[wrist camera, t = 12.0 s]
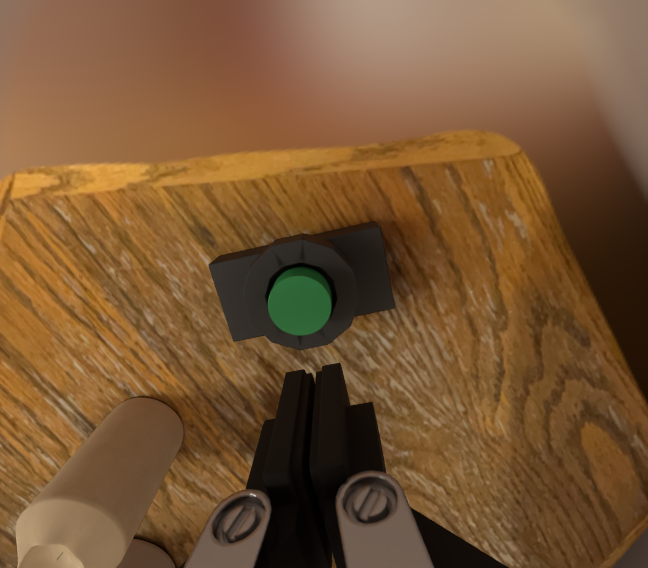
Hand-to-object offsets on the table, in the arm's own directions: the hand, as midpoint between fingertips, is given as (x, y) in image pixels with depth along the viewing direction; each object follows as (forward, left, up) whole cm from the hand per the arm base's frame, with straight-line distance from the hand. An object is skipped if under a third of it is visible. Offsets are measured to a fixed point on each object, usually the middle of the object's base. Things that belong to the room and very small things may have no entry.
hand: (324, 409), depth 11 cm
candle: (+15, +8, -13) cm, 22 cm away
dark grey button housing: (+1, -1, -13) cm, 13 cm away
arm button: (+1, -1, -9) cm, 10 cm away
